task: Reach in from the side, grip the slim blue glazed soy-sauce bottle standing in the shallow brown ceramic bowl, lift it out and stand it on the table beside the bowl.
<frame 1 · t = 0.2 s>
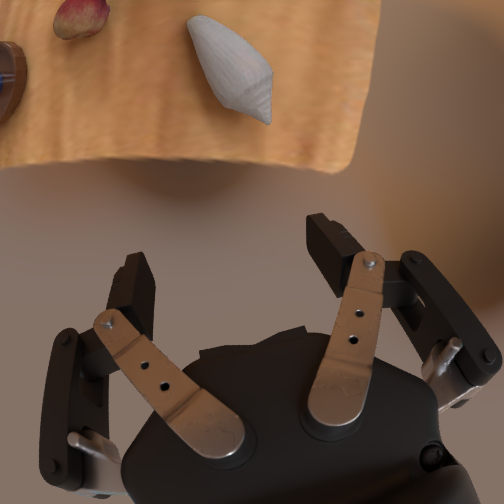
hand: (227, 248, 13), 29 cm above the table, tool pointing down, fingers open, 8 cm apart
fruit: (91, 21, 22), on the table
seashell: (226, 66, 31), on the table
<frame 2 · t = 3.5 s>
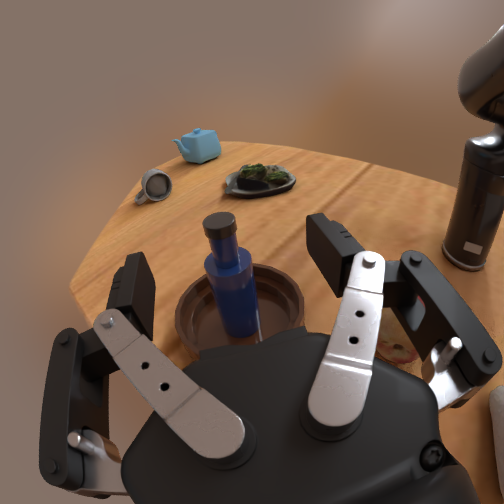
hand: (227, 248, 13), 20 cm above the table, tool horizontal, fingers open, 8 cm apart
soy bottle: (241, 322, 34), point 1 cm above the table, touching bowl
fruit: (394, 348, 28), on the table
salad plate: (259, 185, 68), on the table
ceramic mug: (155, 198, 70), on the table
teapot: (199, 161, 91), on the table
bowl: (242, 326, 34), on the table
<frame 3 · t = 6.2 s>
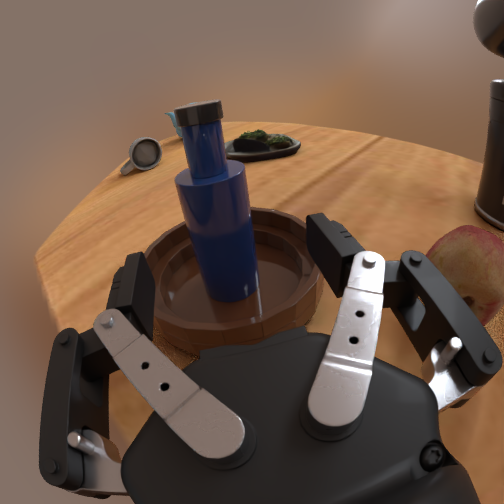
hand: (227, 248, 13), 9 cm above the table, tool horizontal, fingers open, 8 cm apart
soy bottle: (232, 282, 24), point 1 cm above the table, touching bowl
fruit: (448, 316, 18), on the table
salad plate: (259, 151, 58), on the table
ceramic mug: (143, 169, 61), on the table
bowl: (233, 288, 24), on the table
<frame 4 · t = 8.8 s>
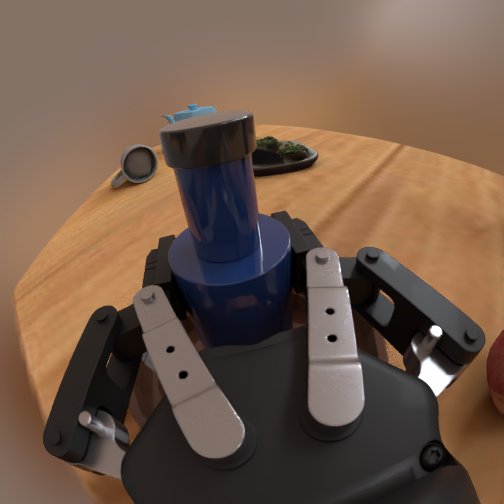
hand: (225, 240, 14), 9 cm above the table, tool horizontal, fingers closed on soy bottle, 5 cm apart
soy bottle: (255, 371, 16), point 1 cm above the table, touching bowl, gripper
fruit: (503, 394, 11), on the table
salad plate: (270, 162, 51), on the table
ceramic mug: (136, 181, 54), on the table
teapot: (195, 142, 75), on the table
bowl: (256, 376, 17), on the table
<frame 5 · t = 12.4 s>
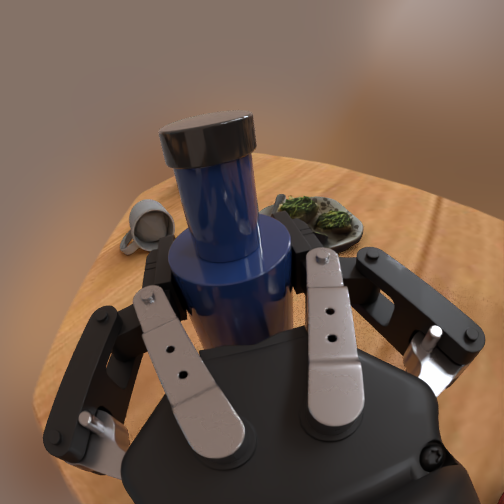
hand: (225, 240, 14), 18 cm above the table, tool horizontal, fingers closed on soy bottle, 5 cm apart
soy bottle: (255, 371, 16), point 9 cm above the table, touching gripper
salad plate: (307, 231, 46), on the table
ceramic mug: (149, 244, 48), on the table
when the fingers open (8 cm above the table, at t = 15.9 s): soy bottle stays where it is, on the table.
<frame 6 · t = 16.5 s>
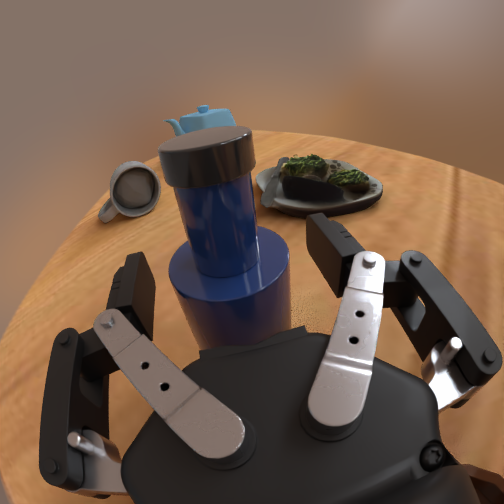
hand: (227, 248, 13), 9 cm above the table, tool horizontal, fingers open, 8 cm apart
soy bottle: (254, 377, 17), on the table
salad plate: (316, 192, 38), on the table
ceramic mug: (132, 211, 40), on the table
teapot: (206, 153, 62), on the table
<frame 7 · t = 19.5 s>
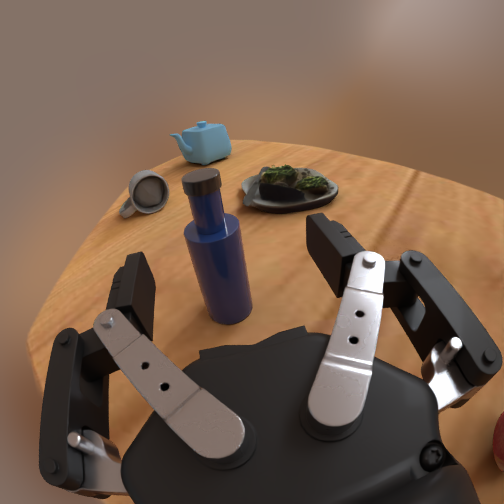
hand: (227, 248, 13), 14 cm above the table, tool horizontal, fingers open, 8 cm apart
soy bottle: (230, 307, 29), on the table
salad plate: (287, 194, 50), on the table
ceramic mug: (146, 209, 53), on the table
teapot: (204, 161, 74), on the table
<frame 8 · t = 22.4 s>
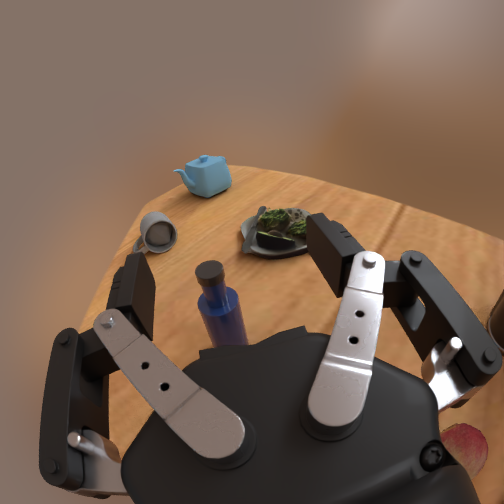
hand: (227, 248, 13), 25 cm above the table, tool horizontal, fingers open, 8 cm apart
soy bottle: (232, 348, 37), on the table
fruit: (435, 465, 18), on the table
salad plate: (281, 237, 58), on the table
ceramic mug: (156, 247, 61), on the table
teapot: (206, 193, 82), on the table
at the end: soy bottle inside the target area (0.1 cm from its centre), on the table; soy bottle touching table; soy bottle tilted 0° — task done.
